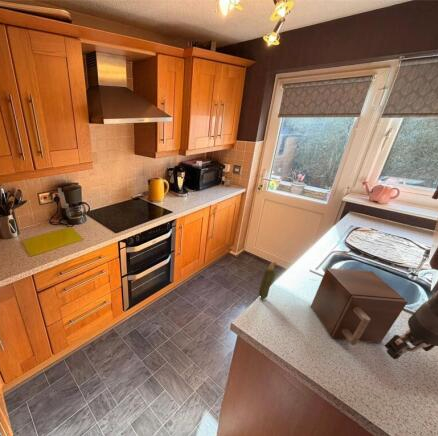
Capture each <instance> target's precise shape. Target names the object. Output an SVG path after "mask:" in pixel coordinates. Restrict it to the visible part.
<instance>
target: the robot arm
mask: <svg viewBox="0 0 438 436" xmlns="http://www.w3.org/2000/svg"><path fill="white" fill-rule="evenodd" d="M407 325H408V328H409V329H408V330H406V331H405V333H403V334H401V335H399V334H395V335H393V337H391V338H390V339H389V340H388V341H387V342H386V343H385V344H384V347H385V348H386V349H387V350H386V353H387V354H388V356H390V358H392V359H393V360H399V358H400V357H401V356H403V355H404V354H406V353H408V352H411V353H414V352H416V351H418V350H421V349H422V350H423V351H425V352H430V351H431V350H432V349H433V348H435V347H438V290H437V291H435V293H434V294H433V295H431V297H430V298H429V299H428V300H426V301H424V302H423V303H422V304H421V305H420V306H419V307H418V308H417V309H416V310H415V311H414V312H413V313H412V315H411V316H410V317H409V318H408V320H407ZM409 343H410V344H411V345H412V346H413V347H411V346H410V345H409Z"/></svg>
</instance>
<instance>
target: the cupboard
mask: <svg viewBox="0 0 438 436" xmlns="http://www.w3.org/2000/svg"><path fill="white" fill-rule="evenodd" d="M351 295H354V296H366V297H378V298H390V299H403V300H405V297H404V296H403V295H402V294H400V293H398V291H396V290H395V289H394V288H393V287H392V286H391V285H389V284H388V283H387V282H385V281H384V280H383V279H382V278H380V277H379V276H378V275H377V274H376V273H375V272H374V271H371V270H359V269H357V270H356V269H343V268H330V267H326V269H325V271H324V274H323V276H322V278H321V281H320V283H319V285H318V287H317V290H316V293H315V295H314V298H313V300H312V302H311V305H310V307H311V309H312V311H313V312H314V314H315V315H316V316H317V318H318V319H319V321H320V322H321V324H322V325H323V327H324V328H325V329H326V331H327V333H328V334H329V336H331V335H332V333H333V331H334V329H335V327H336V325H337V323H338V321H339V319H340V317H341V315H342V313H343V311H344V309H345V307H346V305H347V303H348V301H349V299H350V297H351Z"/></svg>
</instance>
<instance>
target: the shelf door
mask: <svg viewBox="0 0 438 436" xmlns="http://www.w3.org/2000/svg"><path fill="white" fill-rule="evenodd" d="M406 305H408V301H407V300H406V299H404V300H403V299H390V298H378V297H366V296H354V295H351V297H350V299H349V301H348V303H347V305H346V307H345V309H344V311H343V313H342V315H341V317H340V319H339V321H338V323H337V325H336V327H335V329H334V331H333V333H332V335H330V337H331V339H336V340H347V341H348V342H349V344H350V345H352V346H356V345H357V343H358V342H368V343H375V344H376V343H377V344H381V343H382V342H383V341H384V339H385V338H386V336H387V334H388V333H389V331H390V330H391V328H392V327H393V325H394V324H395V322H396V321H397V319H398V318H399V316H400V315H401V313H402V311H403V310H404V309H405V307H406Z"/></svg>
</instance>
